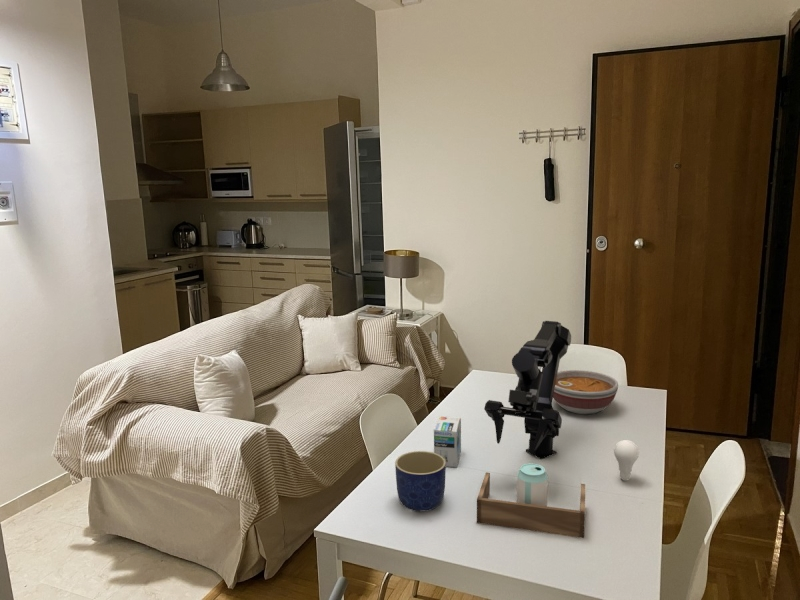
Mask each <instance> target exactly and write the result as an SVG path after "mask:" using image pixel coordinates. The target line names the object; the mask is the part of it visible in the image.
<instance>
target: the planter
mask: <svg viewBox="0 0 800 600" xmlns="http://www.w3.org/2000/svg"><path fill="white" fill-rule="evenodd" d="M394 463H395V465H394V466H395V468H394V469H395V479H396V480H395V482H396V491H397V492H396V493H397V496H398V500H399V502H400V504H401V505H403V506H404V507H405V508H407V509H408V510H410V511H411V510H412V511H417V512H426V511H431V510H433V509H436V508H437V507H439V506H440V504H442V502H443V500H444V497H445V491H446V473H447V471H446V469H447V468H446V461H445V459H444V458H443V457H442V456H440V455H438V454H436V453H434V451H433V452H432V451H427V450H415V451H408V452H406V453H403V454H401V455H400V456H398V457H397V458H396V460H395V462H394Z"/></svg>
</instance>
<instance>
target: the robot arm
mask: <svg viewBox="0 0 800 600" xmlns="http://www.w3.org/2000/svg"><path fill="white" fill-rule="evenodd" d="M571 341H572V334H571V331H570V330H569V329H568V328H567V327H565V326H563V325H562V323H561V322H559V321H553V320H544V321H542V323H541V327H540V329H539V330H538V333H537V334H536V336H535V337H534V339H531V340H528V341H526V342H525V343H524V344H523V345H522V347H521V348H519V351H518V352H516V354H515V355H514V356H513V357H512V359H511V365H512V367H513V370H514V372H515V373H516V374H515V375H516V377H517V378H518V381H517V385H516V386H515V388H514V389H509V393H508V394H509V395H508V403H509V405H510V406H512V407H508V406H507V407H506V406H504V403H503V402H502V401H496V400H492V399H489V400H487V401H486V402H485V405H484V408H483V409H484V412H486V414H487V416H488V417H489V418H491V420H492V421H493V422H494V423H493V424H494V426H495V427H494V428H495V436H496V442H497V444H500V443H501V438H502V437H503V436H502V435H503V429H504V424H505V419H504V417H505V416H512V417H517V418H523V419H524V421H523V422H524V432H525V434H529V439H528V448H526V449H525V452H527V453H528V454H530V455H532V456H534V457H536V458H538V459H540V460H543V459H546V458H549V457H551V456H554V455H556V454H558V452H557V451H556V450H555V449H554V439H555V438H556V437H559V435H560V429H561V427H562V421H563V419H562V416H561V413H560V411H559V410H558V409H554V407H553V401H554V398H553V394H554V389H555V384H556V378H557V373H558V372H559V368H560V367H559V366H560V362H561V359H562V358H563V357H564V356H565V355H566V354H567V352H568V349H569V346H571ZM539 367H540V368H541V369H540V368H539Z"/></svg>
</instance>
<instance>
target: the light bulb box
mask: <svg viewBox="0 0 800 600" xmlns="http://www.w3.org/2000/svg"><path fill="white" fill-rule="evenodd" d="M433 453H436V454H438V455H440V456H442V457H443V458H444V459H445V461H446V467H450V468H458V465H459V463H460V458H461V455H462V418H461V417H457V416H456V417H455V416H443V415H439V416H438V418H437V420H436V423H435V425H434V428H433Z"/></svg>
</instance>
